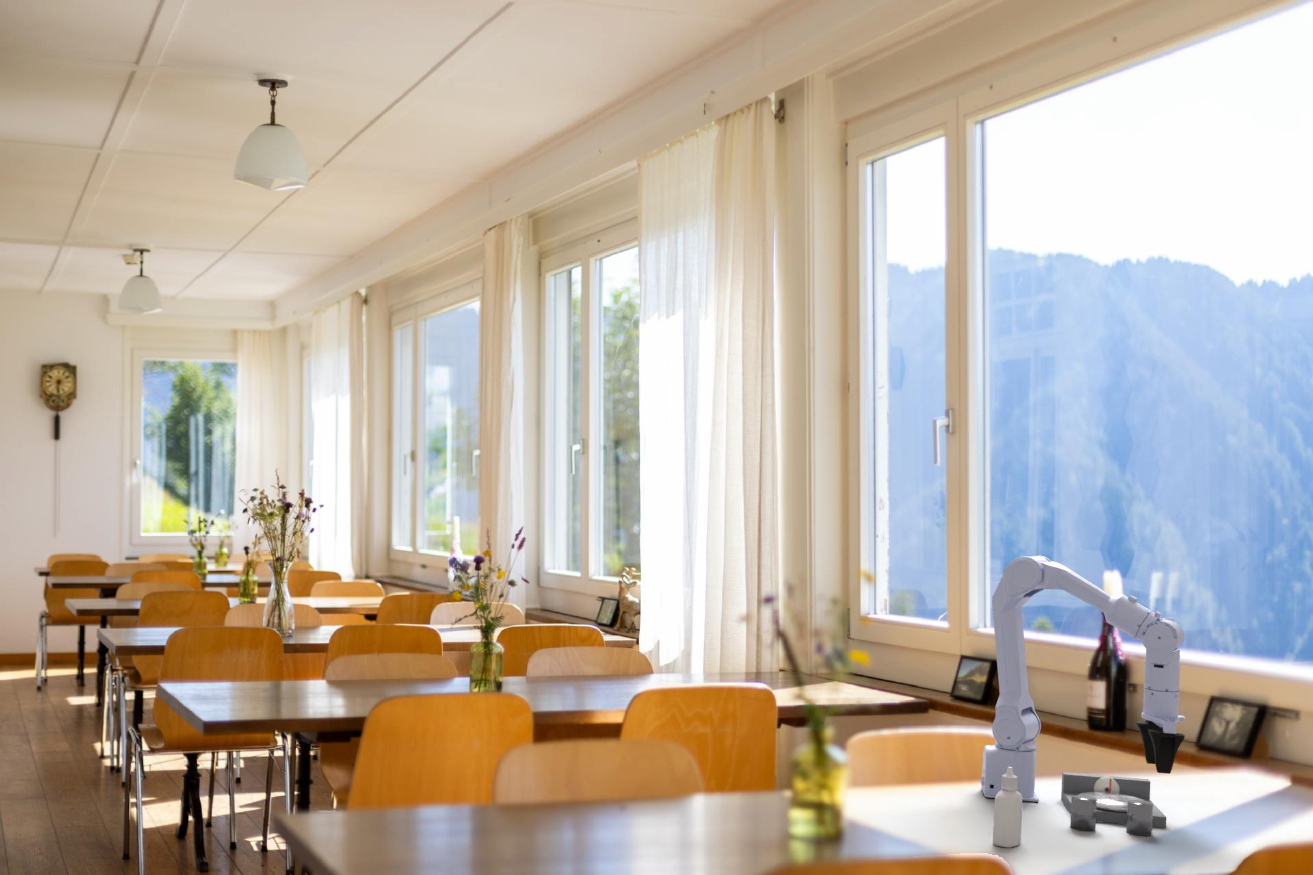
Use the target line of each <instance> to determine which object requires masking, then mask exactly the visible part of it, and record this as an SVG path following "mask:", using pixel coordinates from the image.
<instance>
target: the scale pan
mask: <svg viewBox="0 0 1313 875" xmlns="http://www.w3.org/2000/svg"><path fill="white" fill-rule="evenodd" d="M1079 795H1081V796H1089V797H1093V798H1095V799H1097V804H1096V808H1098V809H1103V810H1109V811H1117V812H1127V801H1129V800H1138V801H1145V800H1143V799H1140V798H1137V797H1133V796H1128V795H1123V794H1117V793H1108V792H1085V793H1081V794H1079ZM1145 802H1147V801H1145Z"/></svg>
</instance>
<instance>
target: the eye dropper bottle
mask: <svg viewBox="0 0 1313 875" xmlns="http://www.w3.org/2000/svg"><path fill="white" fill-rule="evenodd" d="M1017 781H1018V777H1017V776H1015V775H1014V774H1013V768H1012V767H1008V769H1007V773H1006V774H1004V775H1002V783H1001V788H1002V789H1001V790H1000V791H999V792H998V793H997V795H996V797H995V798H994V809H993V810H994V811H993V829H992V830H993V833H992V844H993V845H994V846H995V847H996V846H997V847H1000V848H1001V847H1002V848H1006V849H1007V848H1013V846H1014V847H1018V846H1019V845H1020V844H1021V842H1022V841H1021V840H1022V820H1023V819H1022V818H1023V817H1022V816H1023V800H1022V795H1021V793H1019V792H1018V791H1016V790H1017Z"/></svg>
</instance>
